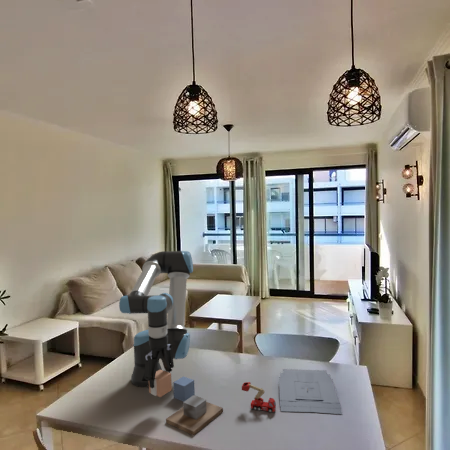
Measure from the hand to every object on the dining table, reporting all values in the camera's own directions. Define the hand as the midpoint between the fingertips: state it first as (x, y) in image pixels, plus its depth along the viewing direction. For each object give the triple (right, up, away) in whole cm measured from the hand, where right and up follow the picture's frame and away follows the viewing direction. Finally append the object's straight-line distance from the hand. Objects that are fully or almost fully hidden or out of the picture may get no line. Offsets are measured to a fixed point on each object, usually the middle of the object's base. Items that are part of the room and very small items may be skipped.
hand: (160, 390), depth 142 cm
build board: (+14, -8, -4) cm, 17 cm away
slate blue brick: (+8, -8, +11) cm, 16 cm away
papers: (+62, -7, +11) cm, 64 cm away
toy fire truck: (+40, -8, +1) cm, 41 cm away
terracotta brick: (0, 0, 0) cm, 0 cm away
